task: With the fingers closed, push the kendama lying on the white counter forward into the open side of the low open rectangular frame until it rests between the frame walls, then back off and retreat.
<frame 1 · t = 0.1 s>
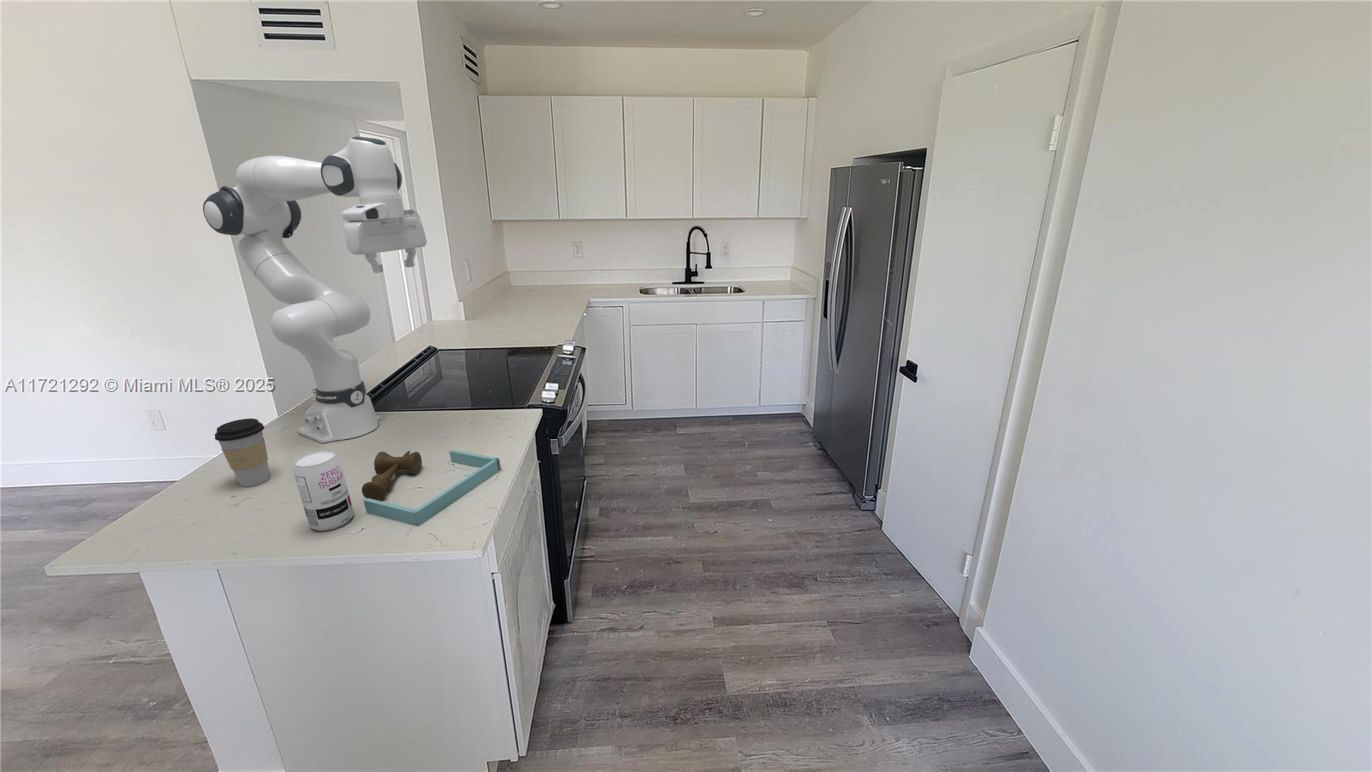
hand: (394, 269, 136), 48 cm above the counter, tool pointing down, fingers open, 8 cm apart
open rectangular frame: (436, 488, 130), on the counter
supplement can: (333, 522, 118), on the counter
kendama: (394, 481, 134), on the counter
coffee cup: (256, 481, 136), on the counter
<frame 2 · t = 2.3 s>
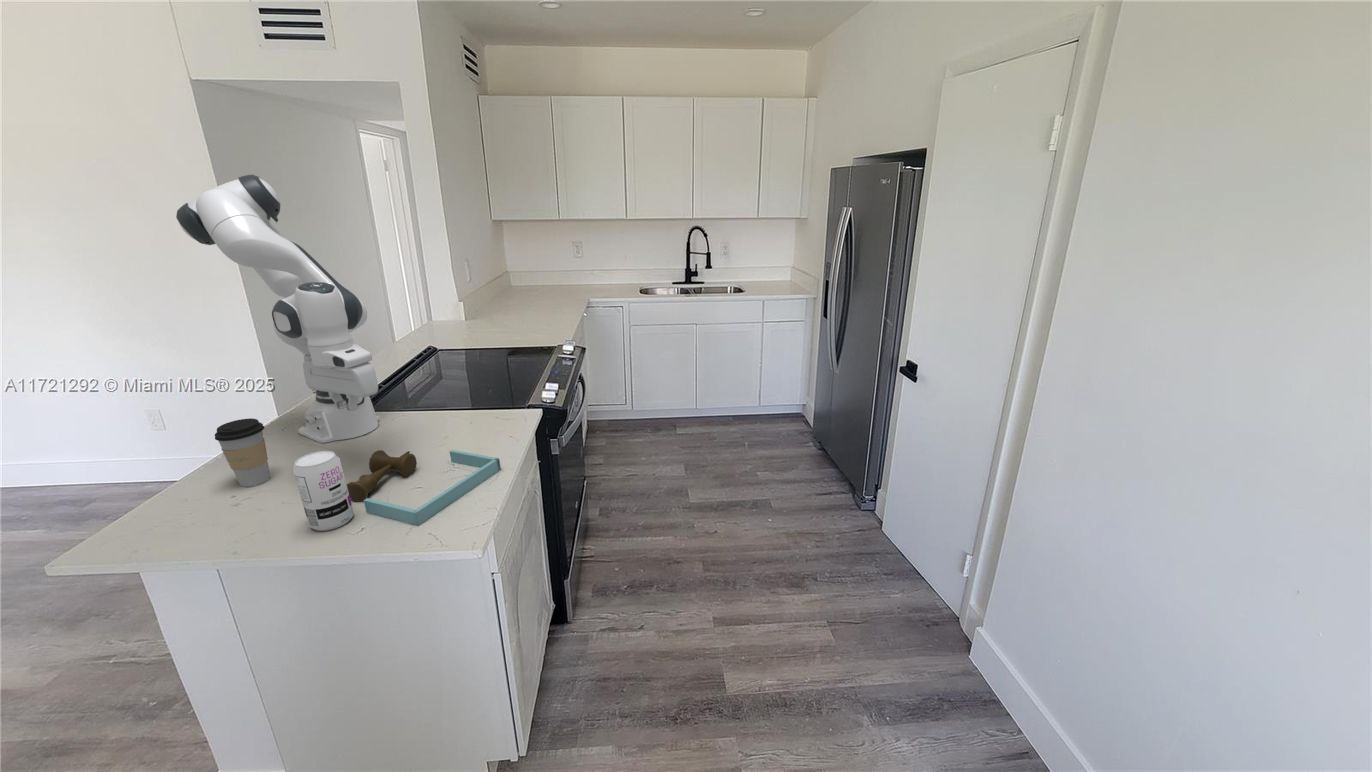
hand: (347, 409, 132), 17 cm above the counter, tool pointing down, fingers closed
kendama: (386, 481, 134), on the counter
everything else where it was.
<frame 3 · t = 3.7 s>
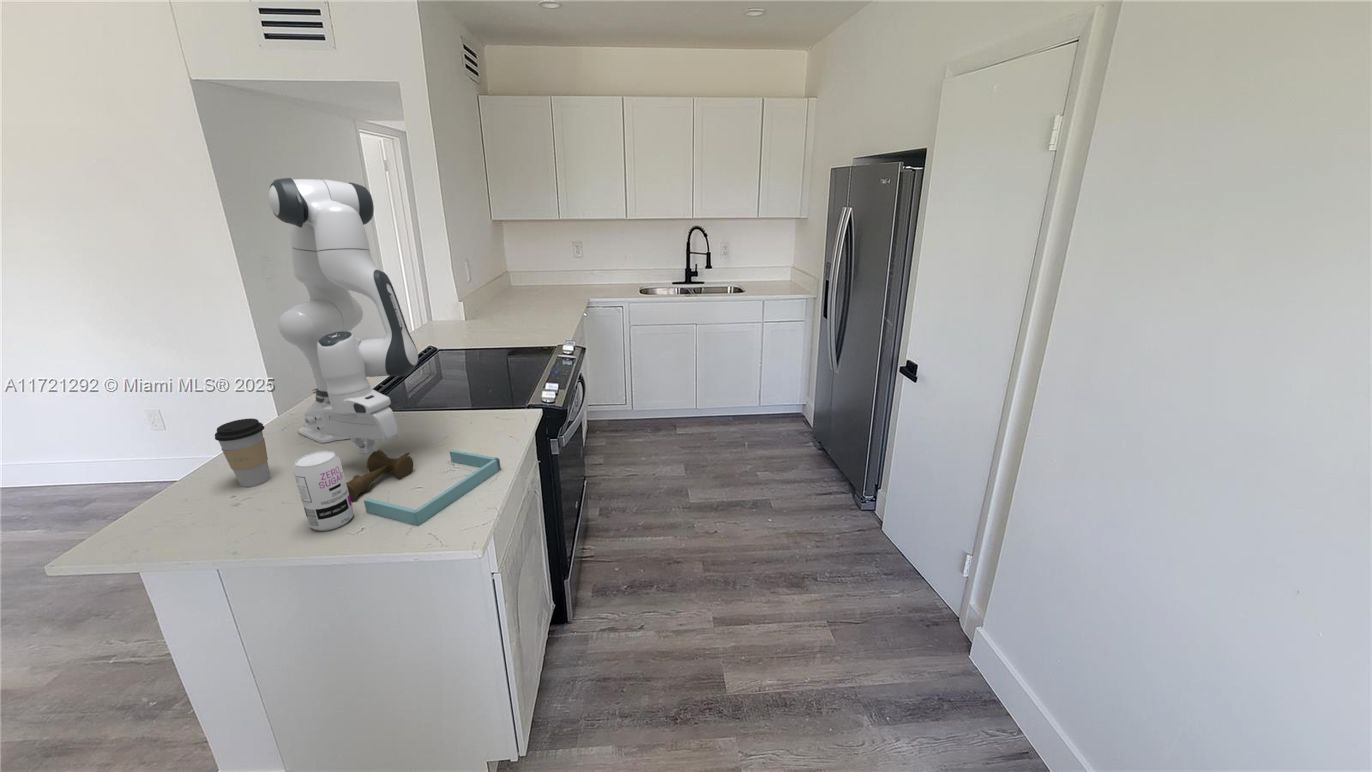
hand: (366, 452, 136), 5 cm above the counter, tool pointing down, fingers closed
kendama: (381, 482, 135), on the counter, touching gripper
everything else where it was.
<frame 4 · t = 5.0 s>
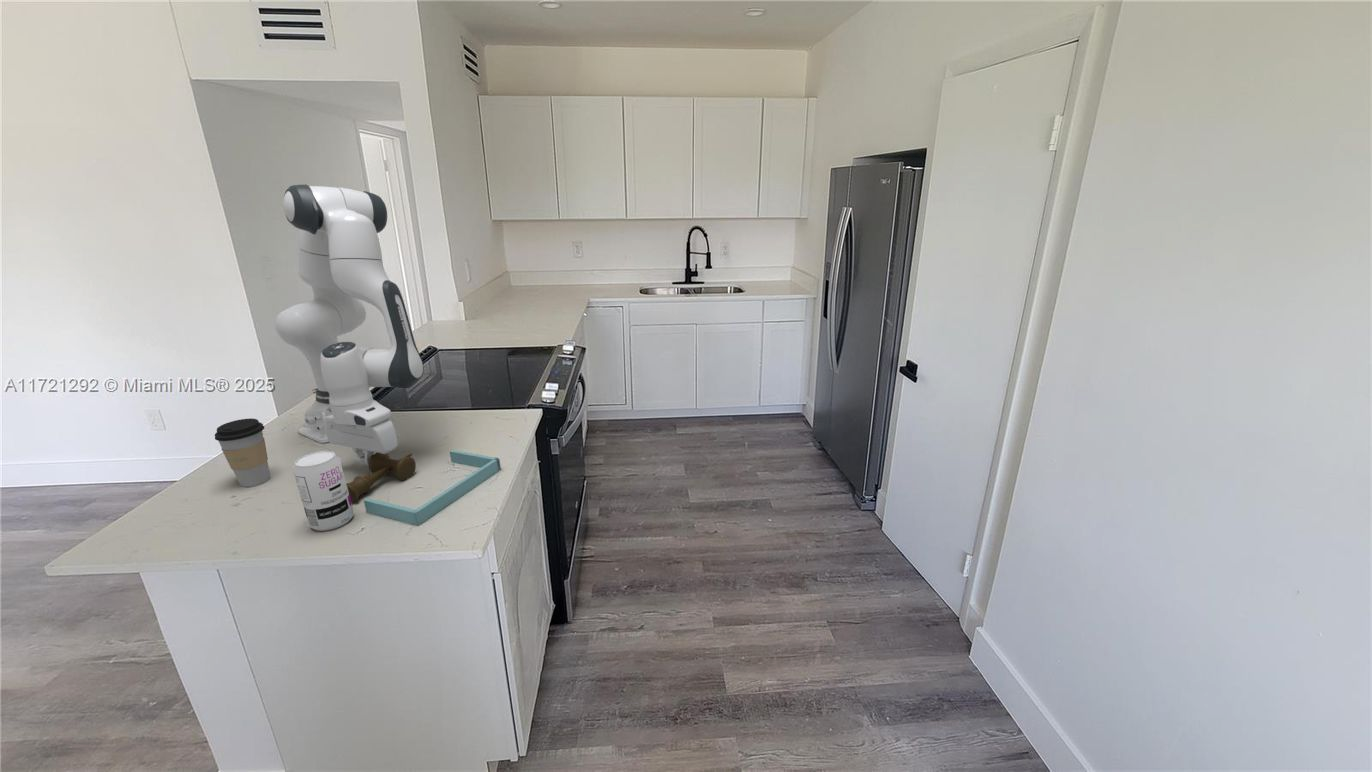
hand: (367, 463, 136), 3 cm above the counter, tool pointing down, fingers closed
kendama: (383, 483, 133), on the counter, touching gripper
everything else where it was.
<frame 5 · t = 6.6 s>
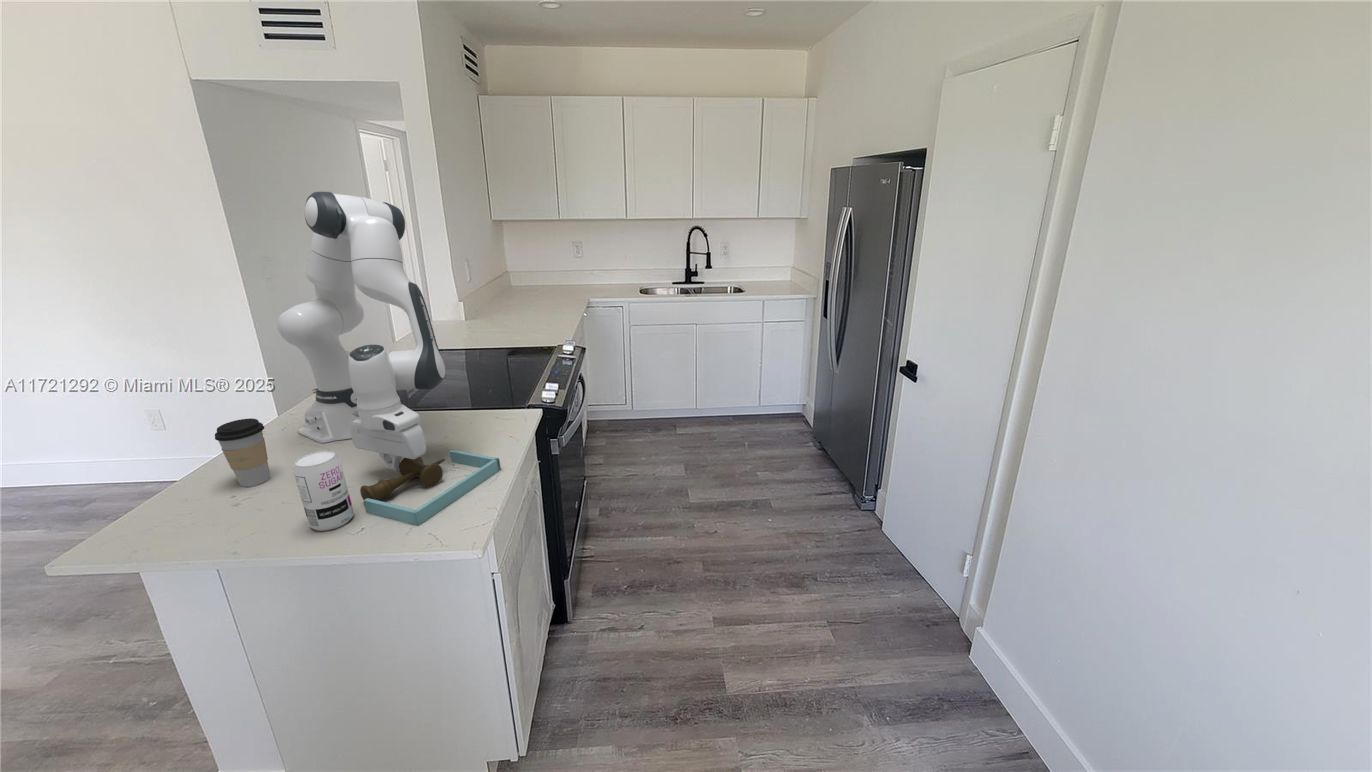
hand: (394, 468, 133), 3 cm above the counter, tool pointing down, fingers closed
kendama: (409, 488, 131), on the counter, touching gripper
everything else where it was.
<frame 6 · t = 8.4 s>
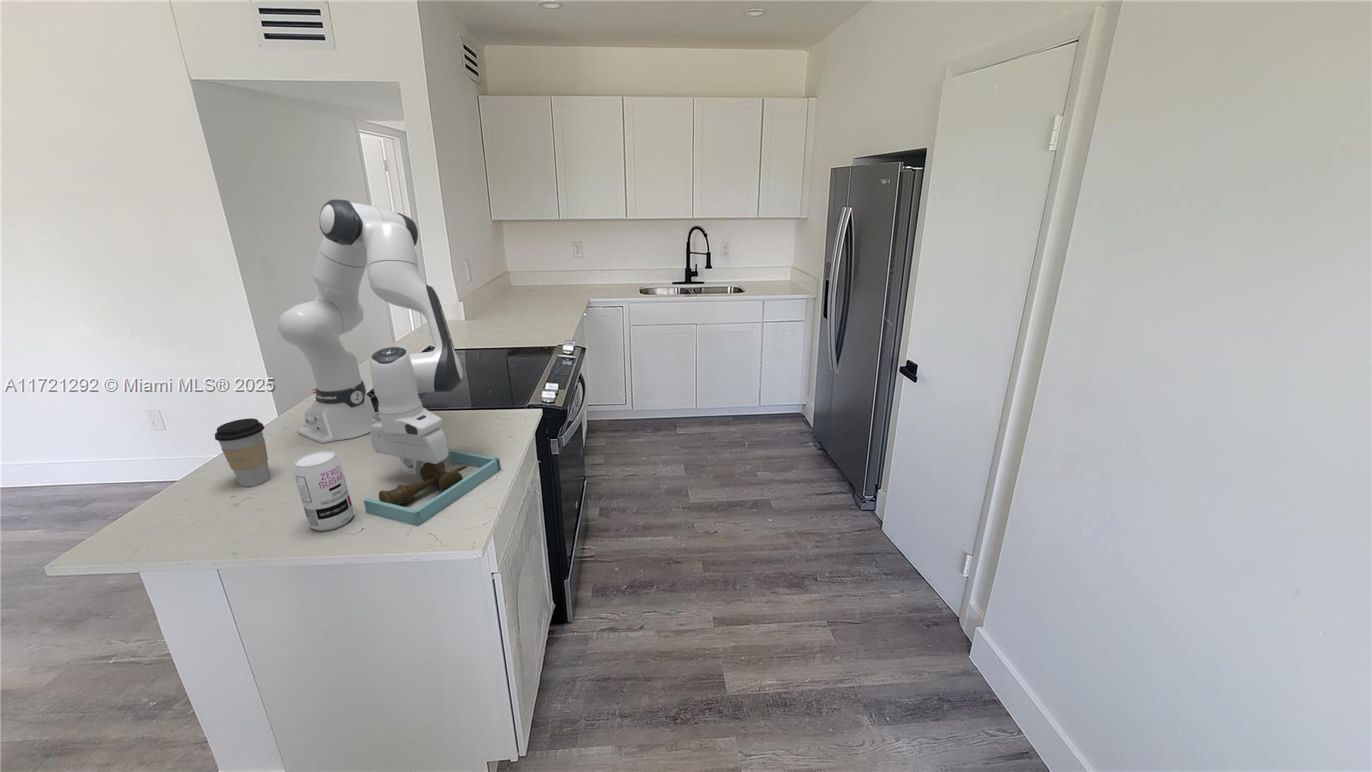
hand: (414, 473, 131), 3 cm above the counter, tool pointing down, fingers closed
kendama: (429, 494, 128), on the counter
everything else where it was.
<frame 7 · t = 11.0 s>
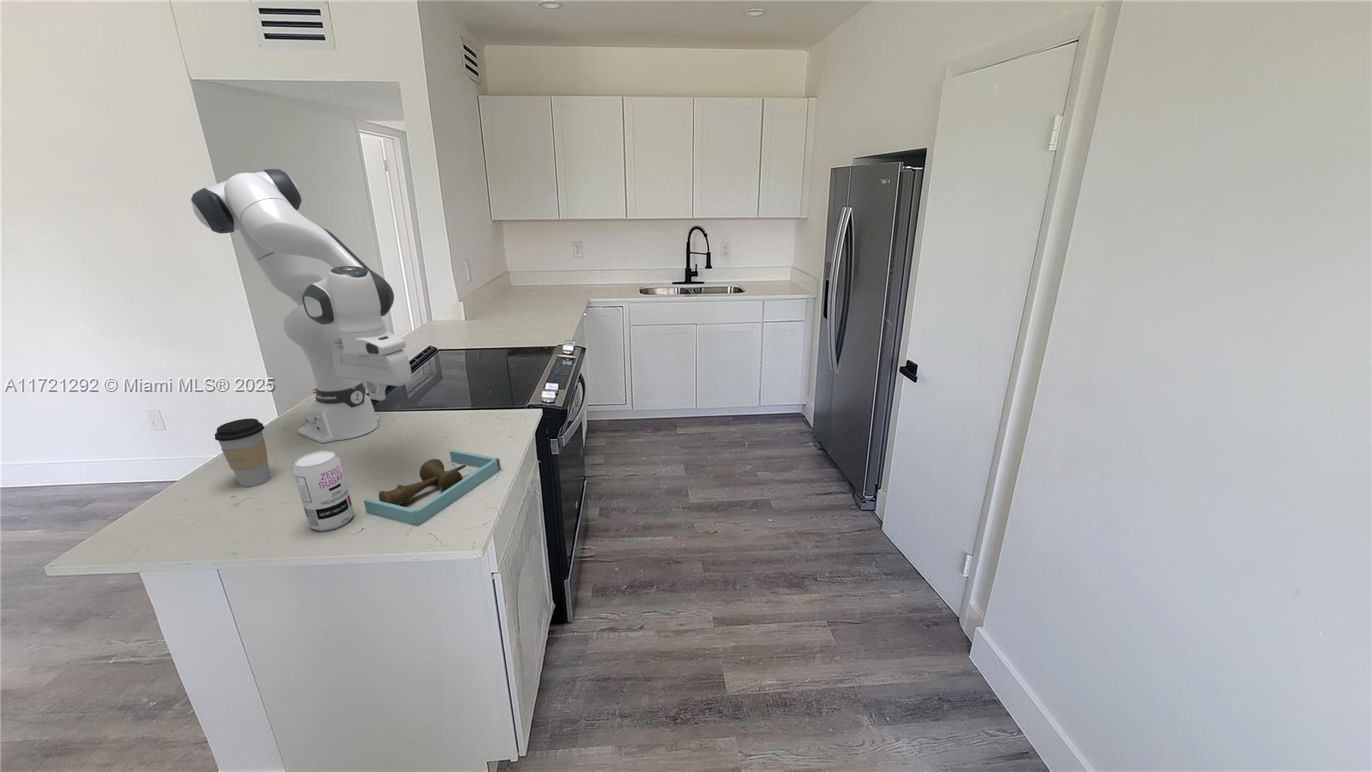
hand: (378, 399, 127), 21 cm above the counter, tool pointing down, fingers closed
nothing on the counter moved.
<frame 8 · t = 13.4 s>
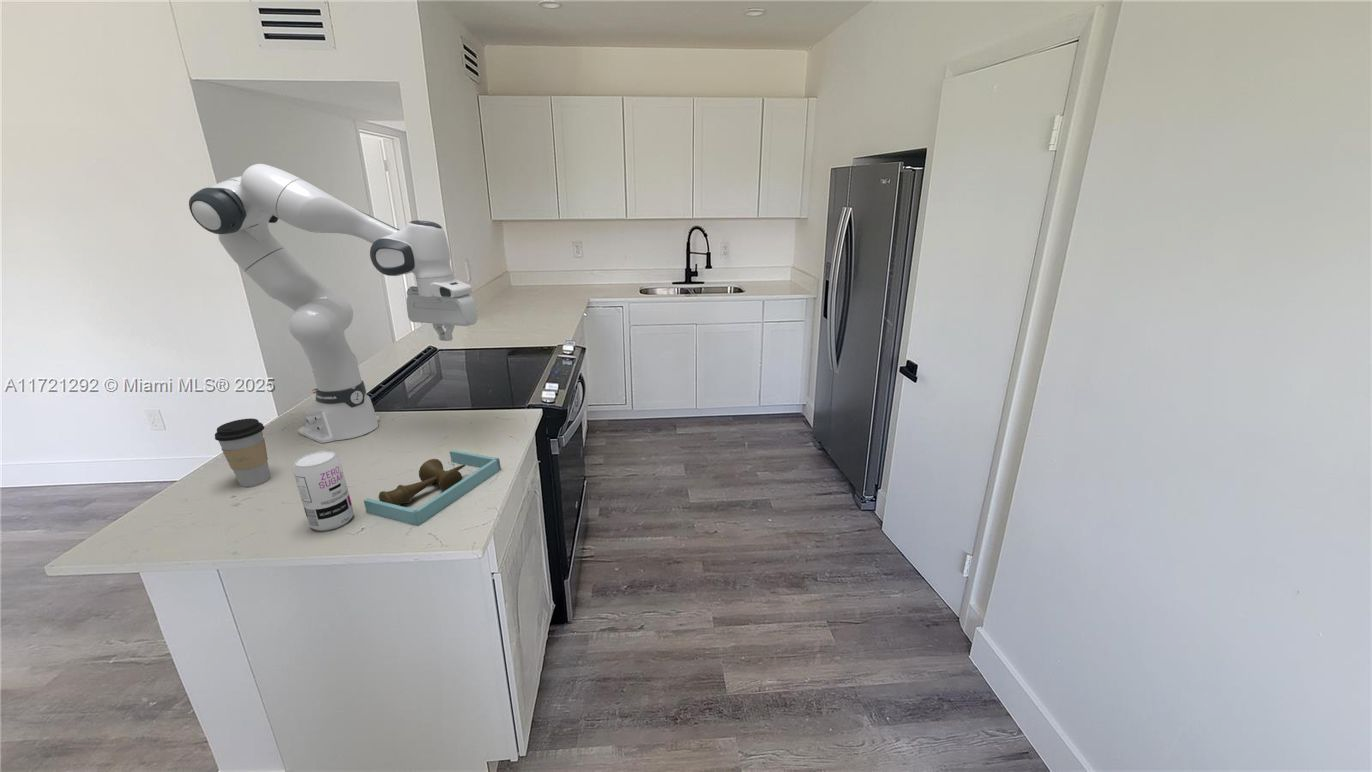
hand: (446, 340, 144), 29 cm above the counter, tool pointing down, fingers closed
nothing on the counter moved.
at the end: kendama inside the target area on the open rectangular frame (2.1 cm from its centre), point -0.5 cm above the open rectangular frame's base; kendama moved 12.6 cm from its start; the gripper is holding nothing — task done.
